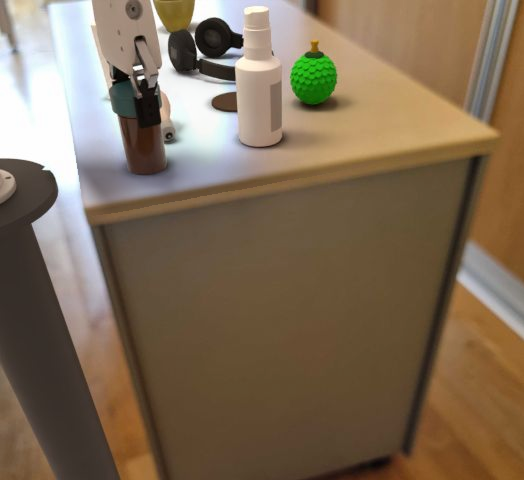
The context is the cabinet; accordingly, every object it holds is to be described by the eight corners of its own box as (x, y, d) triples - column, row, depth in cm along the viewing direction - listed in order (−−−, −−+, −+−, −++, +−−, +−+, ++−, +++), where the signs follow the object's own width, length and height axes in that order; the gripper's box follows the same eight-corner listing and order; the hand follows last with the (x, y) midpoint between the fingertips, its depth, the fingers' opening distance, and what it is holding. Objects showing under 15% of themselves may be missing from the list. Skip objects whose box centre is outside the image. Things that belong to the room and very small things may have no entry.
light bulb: (184, 111, 86) (155, 71, 91) (145, 127, 85) (118, 86, 90) (192, 144, 92) (165, 105, 97) (155, 160, 91) (129, 120, 96)
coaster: (225, 116, 97) (225, 113, 97) (203, 100, 103) (202, 98, 102) (271, 105, 100) (271, 102, 100) (246, 90, 106) (246, 88, 106)
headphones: (209, 9, 119) (290, 38, 113) (208, 47, 124) (285, 76, 118) (156, 29, 109) (242, 61, 103) (158, 69, 114) (239, 102, 108)
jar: (136, 178, 81) (122, 105, 74) (122, 163, 85) (107, 92, 78) (173, 168, 83) (163, 96, 76) (158, 154, 87) (147, 84, 80)
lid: (124, 96, 81) (121, 78, 79) (169, 99, 80) (166, 80, 78) (104, 115, 76) (100, 95, 74) (151, 118, 75) (148, 98, 73)
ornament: (292, 94, 104) (293, 33, 97) (337, 95, 102) (341, 34, 96) (287, 111, 98) (287, 47, 91) (334, 112, 97) (337, 48, 90)
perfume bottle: (103, 95, 106) (84, 3, 96) (126, 91, 107) (109, 0, 97) (108, 103, 103) (88, 9, 93) (132, 99, 104) (115, 5, 94)
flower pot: (171, 38, 133) (166, 3, 128) (148, 29, 139) (143, -5, 134) (206, 29, 137) (203, -5, 132) (183, 21, 143) (179, -12, 138)
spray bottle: (290, 141, 89) (290, 10, 76) (251, 151, 86) (246, 18, 74) (268, 126, 93) (265, 0, 81) (231, 136, 91) (222, 7, 78)
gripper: (173, -30, 63) (191, 131, 75) (114, -49, 74) (139, 93, 86) (109, -20, 60) (139, 145, 72) (58, -42, 71) (91, 104, 83)
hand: (138, 116), depth 79 cm, fingers closed on lid, 6 cm apart
